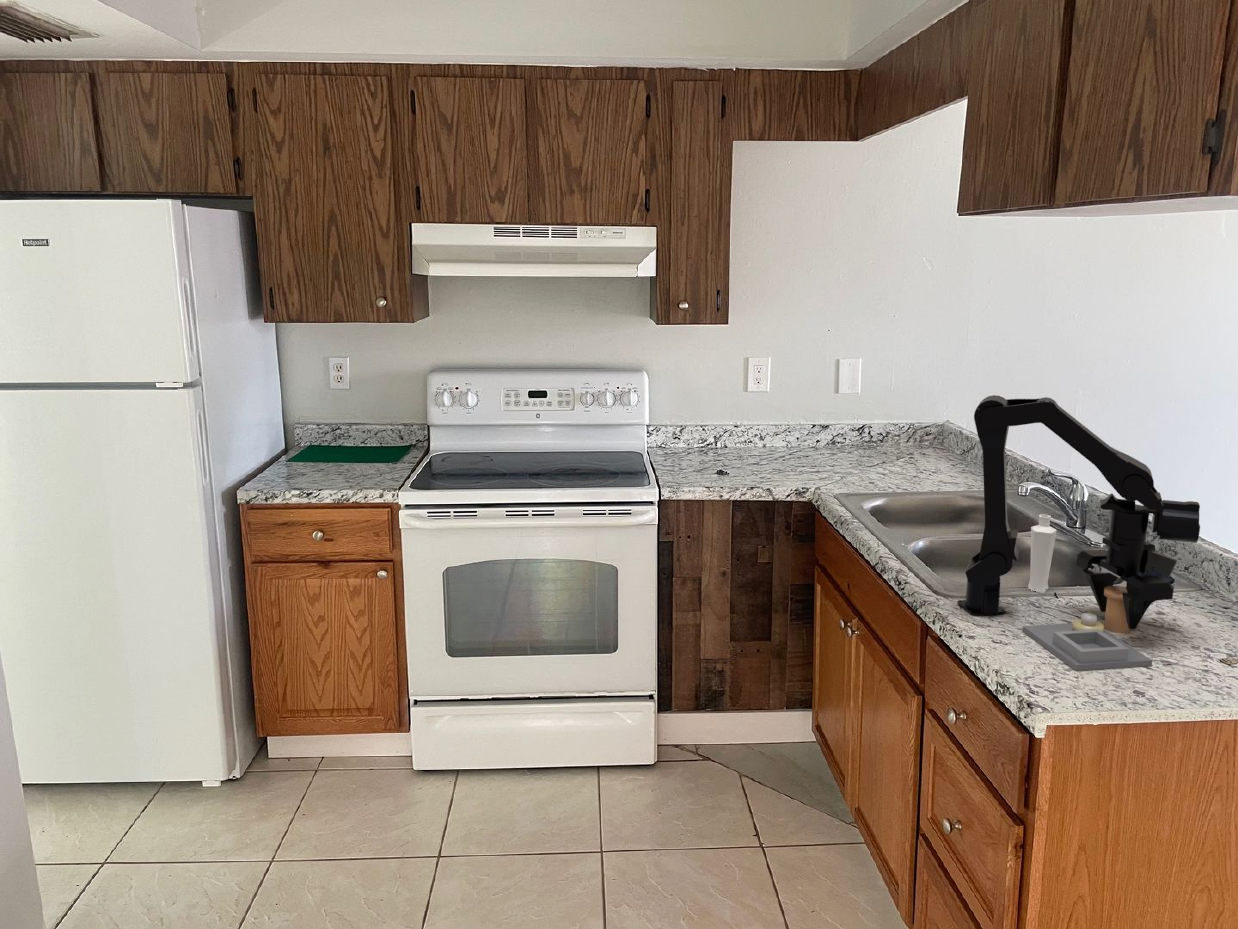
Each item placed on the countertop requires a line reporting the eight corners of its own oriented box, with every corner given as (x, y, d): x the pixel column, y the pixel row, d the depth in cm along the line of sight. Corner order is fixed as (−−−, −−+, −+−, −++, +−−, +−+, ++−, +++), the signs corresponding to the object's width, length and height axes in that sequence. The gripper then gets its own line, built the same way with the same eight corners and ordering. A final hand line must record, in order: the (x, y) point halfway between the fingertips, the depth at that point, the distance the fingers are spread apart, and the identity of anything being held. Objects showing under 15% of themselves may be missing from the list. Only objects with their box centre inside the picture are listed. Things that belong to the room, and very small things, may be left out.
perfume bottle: (1053, 594, 185) (1061, 519, 181) (1029, 593, 185) (1036, 518, 182) (1047, 586, 189) (1054, 513, 186) (1024, 584, 190) (1030, 512, 186)
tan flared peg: (1094, 623, 170) (1098, 586, 169) (1121, 622, 171) (1125, 585, 170) (1112, 635, 165) (1116, 597, 164) (1140, 633, 166) (1144, 595, 164)
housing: (1022, 631, 167) (1024, 610, 166) (1092, 627, 169) (1094, 606, 168) (1075, 671, 152) (1078, 647, 151) (1151, 666, 153) (1154, 642, 152)
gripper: (1209, 550, 156) (1197, 639, 160) (1136, 518, 174) (1126, 598, 178) (1146, 553, 155) (1135, 642, 159) (1079, 520, 173) (1070, 602, 177)
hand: (1117, 620), depth 168 cm, fingers open, 8 cm apart
